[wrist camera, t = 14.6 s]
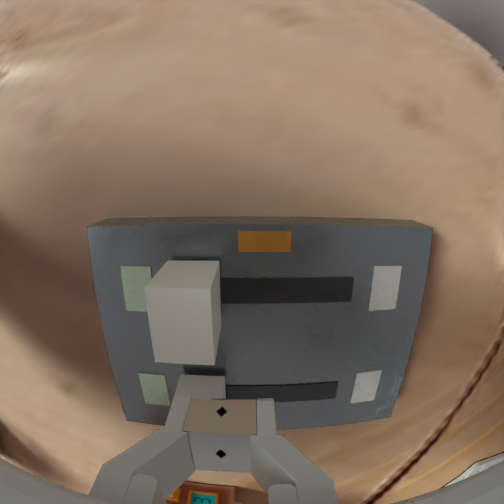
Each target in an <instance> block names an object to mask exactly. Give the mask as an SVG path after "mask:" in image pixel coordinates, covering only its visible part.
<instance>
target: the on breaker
mask: <svg viewBox="0 0 504 504" xmlns="http://www.w3.org/2000/svg"><path fill="white" fill-rule="evenodd" d="M176 395H183V396H196V397H209V398H223V399H226V388H225V376H202V375H183V374H181V375H180V378H179V381H178V385H177V388H176V391H175V394H174V397H175V396H176ZM173 399H174V398H173ZM172 402H173V401H172ZM171 405H172V404H171Z"/></svg>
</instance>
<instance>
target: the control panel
mask: <svg viewBox="0 0 504 504" xmlns="http://www.w3.org/2000/svg"><path fill="white" fill-rule="evenodd" d="M165 501H166V503H167V504H244V503H241V502H236V501H235V487H232V486H220V485H210V484H202V483H194V482H187V481H184V482H183V483H182V484H181V485H180V486H179V487H178V488H177V489H176V490H175V491H174V492H173V493H172V494H171V495H170V496H169V497H168V498H167V499H166V500H165Z"/></svg>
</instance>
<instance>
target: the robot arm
mask: <svg viewBox="0 0 504 504" xmlns="http://www.w3.org/2000/svg"><path fill="white" fill-rule="evenodd" d="M195 470H210V471H231V472H251V474H252V475H253V477H254V478H255V479H256V481H257V482H258V483H259V485H260V486H261V487H262V489H263V490H264V491H265V492H266V494H267V495H268V500H267V504H338V500H337V496H336V492H335V487H334V483H333V479H332V478H331V477H329V476H328V475H327V474H326V473H325V472H323V471H322V470H321V469H320V468H319V467H317V466H316V465H315V464H314V463H313V462H312V461H310V460H309V459H308V458H307V457H306V456H305V455H304V454H302V453H301V452H300V451H299V450H298V449H297V448H296V447H295V446H294V445H292V444H291V443H290V442H289V441H288V440H287V439H286V438H285V437H284V436H283V435H277V428H276V417H275V405H274V399H273V398H265V399H257V400H256V399H223V398H209V397H196V396H183V395H176V396H175V397H174V399H173V402H172V405H171V408H170V411H169V414H168V417H167V420H166V423H165V426H164V429H158V430H156V431H155V432H153V433H152V434H150V435H149V436H147V437H146V438H144V439H143V440H141V441H140V442H138V443H136V444H135V445H133V446H132V447H130V448H129V449H127V450H125V451H124V452H122V453H121V454H119V455H117V456H116V457H114V458H112V459H111V460H109V461H107V462H106V463H104V464H102V467H101V469H100V471H99V473H98V475H97V478H96V480H95V482H94V484H93V486H92V489H91V491H90V493H89V495H87V494H84V493H81V492H78V491H75V490H72V489H70V488H67V487H64V486H61V485H59V484H56V483H54V482H51V481H49V480H46V479H44V478H41V477H39V476H37V475H35V474H32V473H30V472H28V471H26V470H24V469H22V468H19V467H17V466H15V465H13V464H11V463H9V462H8V461H6V460H4V459H2V458H0V504H167V503H166V501H165V500H166V499H167V498H168V497H169V496H170V495H171V494H172V493H173V492H174V491H175V490H176V489H177V488H178V487H179V486H180V485H181V484H182V483H183V482H184V481H185V480H186V479H187V478H188V477H189V476H190V475H191V474H192V473H193V472H194V471H195ZM391 504H504V453H502V454H499V455H496V456H493V457H491V458H488V459H485V460H482V461H479V462H476V463H475V464H473V465H472V466H471V467H470V468H469V469H467V470H466V471H465V472H464V473H463V474H462V475H461V476H459V477H458V478H456V479H455V480H453V481H452V482H450V483H449V484H447V485H446V486H444V487H443V488H440V489H437V490H434V491H431V492H428V493H425V494H422V495H419V496H416V497H413V498H409V499H406V500H402V501H399V502H395V503H391Z"/></svg>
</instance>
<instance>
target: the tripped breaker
mask: <svg viewBox="0 0 504 504" xmlns="http://www.w3.org/2000/svg"><path fill="white" fill-rule="evenodd" d="M144 288H145V297H146V305H147V312H148V320H149V327H150V334H151V340H152V346H153V352H154V358H155V362H161V363H176V364H195V365H215V360H216V354H217V348H218V342H219V336H220V330H221V297H220V264H219V261H167V262H166V263H165V264H164V265H163V267H162V268H161V269H160V270H159V271H158V272H157V273H156V275H155V276H154V277H153V278H152V279H151V280H150V282H149V283H148V284H147V285H146V286H145V287H144Z"/></svg>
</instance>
